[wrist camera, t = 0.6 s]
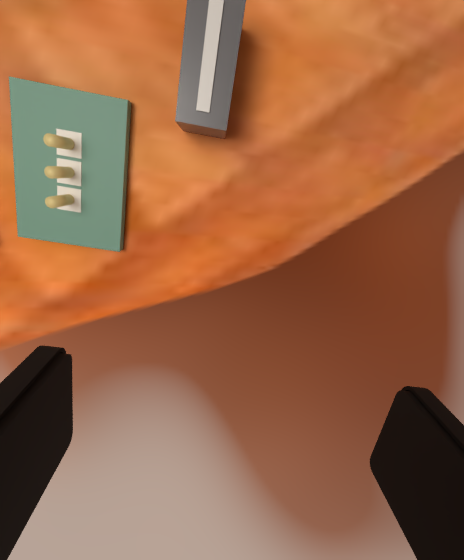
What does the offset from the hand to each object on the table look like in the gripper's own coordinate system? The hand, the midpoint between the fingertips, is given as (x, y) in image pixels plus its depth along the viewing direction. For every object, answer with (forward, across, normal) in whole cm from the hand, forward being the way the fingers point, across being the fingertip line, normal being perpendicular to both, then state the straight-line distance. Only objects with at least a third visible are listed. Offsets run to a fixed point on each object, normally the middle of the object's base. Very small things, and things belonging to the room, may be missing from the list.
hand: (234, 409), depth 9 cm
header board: (+26, +15, -4) cm, 30 cm away
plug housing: (+26, +3, -14) cm, 29 cm away
